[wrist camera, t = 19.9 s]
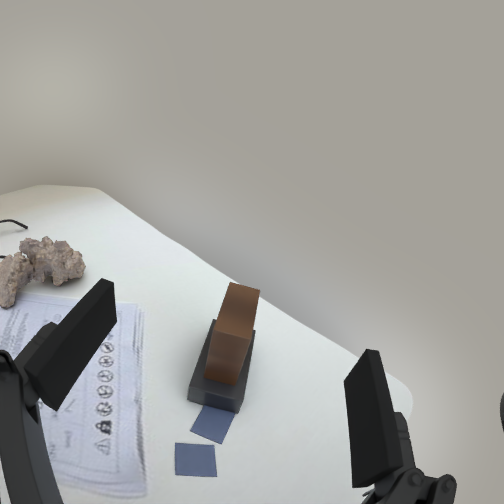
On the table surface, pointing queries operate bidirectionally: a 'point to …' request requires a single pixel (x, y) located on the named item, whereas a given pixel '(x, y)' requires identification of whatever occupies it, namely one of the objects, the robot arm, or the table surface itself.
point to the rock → (38, 266)
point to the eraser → (227, 352)
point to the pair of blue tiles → (203, 456)
